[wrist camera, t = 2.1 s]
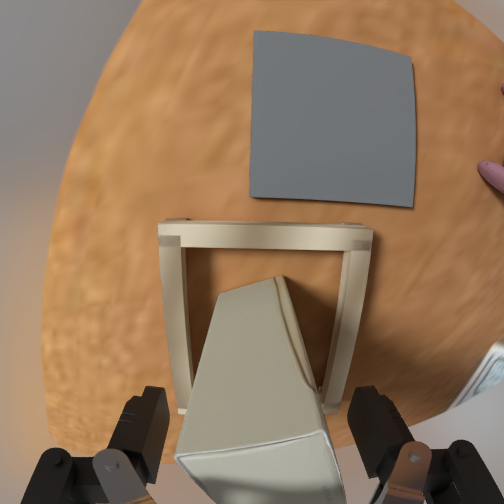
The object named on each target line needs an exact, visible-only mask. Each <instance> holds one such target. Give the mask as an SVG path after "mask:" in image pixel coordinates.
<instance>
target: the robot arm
mask: <svg viewBox="0 0 504 504" xmlns="http://www.w3.org/2000/svg"><path fill="white" fill-rule="evenodd" d="M347 419H348V424H349V427H350V430H351V432H352V435H353V437H354V440H355V443H356V445H357V448H358V450H359V453H360V456H361V458H362V461H363V463H364V466H365V469H366V471H367V474H368V477H369V479H370V478H375V477H379V480H380V482H379V483H378V485H377V487H376V489H375V491H374V494H373V496H372V498H371V500H370V502H369V504H423V503H424V500H426V503H427V504H504V498H503V496H502V494H501V492H500V490H499V488H498V486H497V485H496V483H495V481H494V479H493V478H492V476H491V474H490V472H489V470H488V469H487V467H486V465H485V464H484V462H483V460H482V458H481V457H480V455H479V453H478V452H477V450H476V448H475V447H474V445H473V444H472V443H470V442H469V441H466V440H457V441H454V442H453V443H452V444H451V446H450V447H449V448H448V449H430V448H429V447H428V446H427V445H425V444H424V443H422V442H418V441H415V440H414V438H413V436H412V434H411V433H410V431H409V429H408V427H407V426H406V424H405V422H404V420H403V419H402V418H401V415H400V413H399V412H398V411H397V408H396V407H395V405H394V403H393V402H392V401H391V400H390V399H389V398H388V397H386V396H385V395H379V393H378V392H377V390H376V388H375V387H374V386H373V385H371V386H364V387H357V388H356V389H355V391H354V394H353V397H352V400H351V404H350V407H349V410H348V414H347ZM169 420H170V414H169V408H168V403H167V398H166V392H165V389H164V388H162V387H153V386H146V387H145V389H144V392H143V394H142V397H140V396H133V397H132V398H131V399H130V400H129V401H128V402H127V403H126V404H125V407H124V409H123V411H122V414H121V416H120V418H119V421H118V423H117V425H116V428H115V430H114V433H113V435H112V437H111V440H110V442H109V445H108V447H107V448H106V449H104V450H101V451H100V452H98V453H97V454H96V455H95V456H94V457H71V456H70V454H69V453H68V452H67V451H66V450H64V449H62V448H50V449H48V450H46V451H45V452H44V453H43V454H42V455H41V457H40V459H39V462H38V464H37V466H36V468H35V471H34V473H33V475H32V477H31V480H30V482H29V484H28V486H27V489H26V492H25V494H24V496H23V499H22V501H21V504H96V503H97V504H102V503H103V504H107V503H108V504H156V502H155V501H154V499H153V498H152V497H151V496H150V494H149V493H148V491H147V490H146V484H147V483H151V484H155V482H156V478H157V473H158V469H159V464H160V460H161V456H162V452H163V447H164V443H165V439H166V435H167V431H168V427H169ZM454 484H455V485H454ZM455 486H456V487H455ZM456 488H457V489H456ZM457 490H458V491H457ZM458 492H459V493H458ZM422 493H423V495H422Z"/></svg>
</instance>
